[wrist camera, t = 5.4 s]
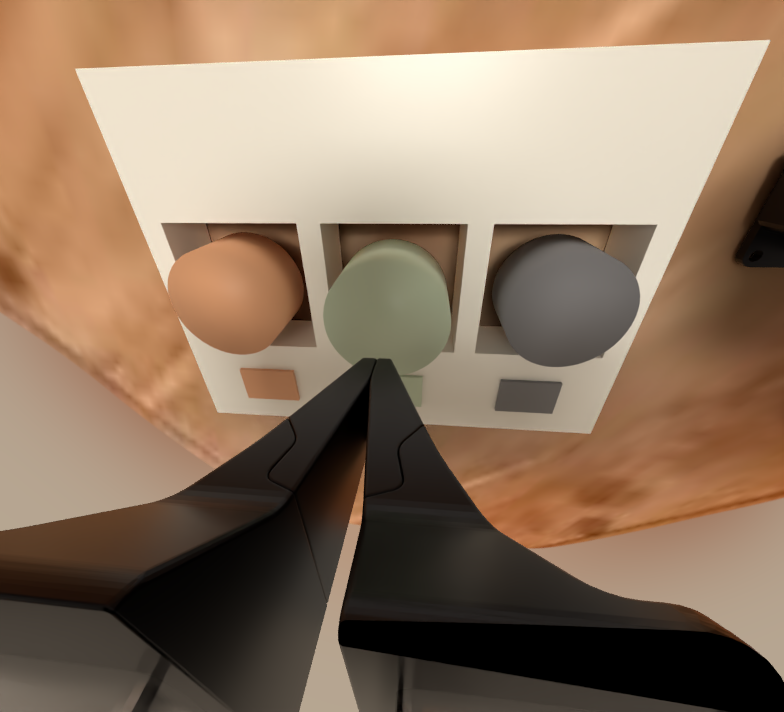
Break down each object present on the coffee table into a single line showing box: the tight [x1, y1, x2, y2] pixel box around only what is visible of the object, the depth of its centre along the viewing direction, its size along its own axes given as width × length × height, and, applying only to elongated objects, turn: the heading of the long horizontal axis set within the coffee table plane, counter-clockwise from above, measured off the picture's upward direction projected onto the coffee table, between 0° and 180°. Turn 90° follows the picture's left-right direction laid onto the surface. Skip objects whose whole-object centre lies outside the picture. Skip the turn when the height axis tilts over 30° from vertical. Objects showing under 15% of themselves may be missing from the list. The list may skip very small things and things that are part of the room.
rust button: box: [168, 232, 304, 355], centre depth 15 cm, size 5×5×3 cm
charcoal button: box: [492, 234, 640, 367], centre depth 14 cm, size 5×5×3 cm
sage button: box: [323, 239, 451, 375], centre depth 13 cm, size 5×5×3 cm
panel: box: [75, 40, 771, 434], centre depth 16 cm, size 22×16×3 cm
